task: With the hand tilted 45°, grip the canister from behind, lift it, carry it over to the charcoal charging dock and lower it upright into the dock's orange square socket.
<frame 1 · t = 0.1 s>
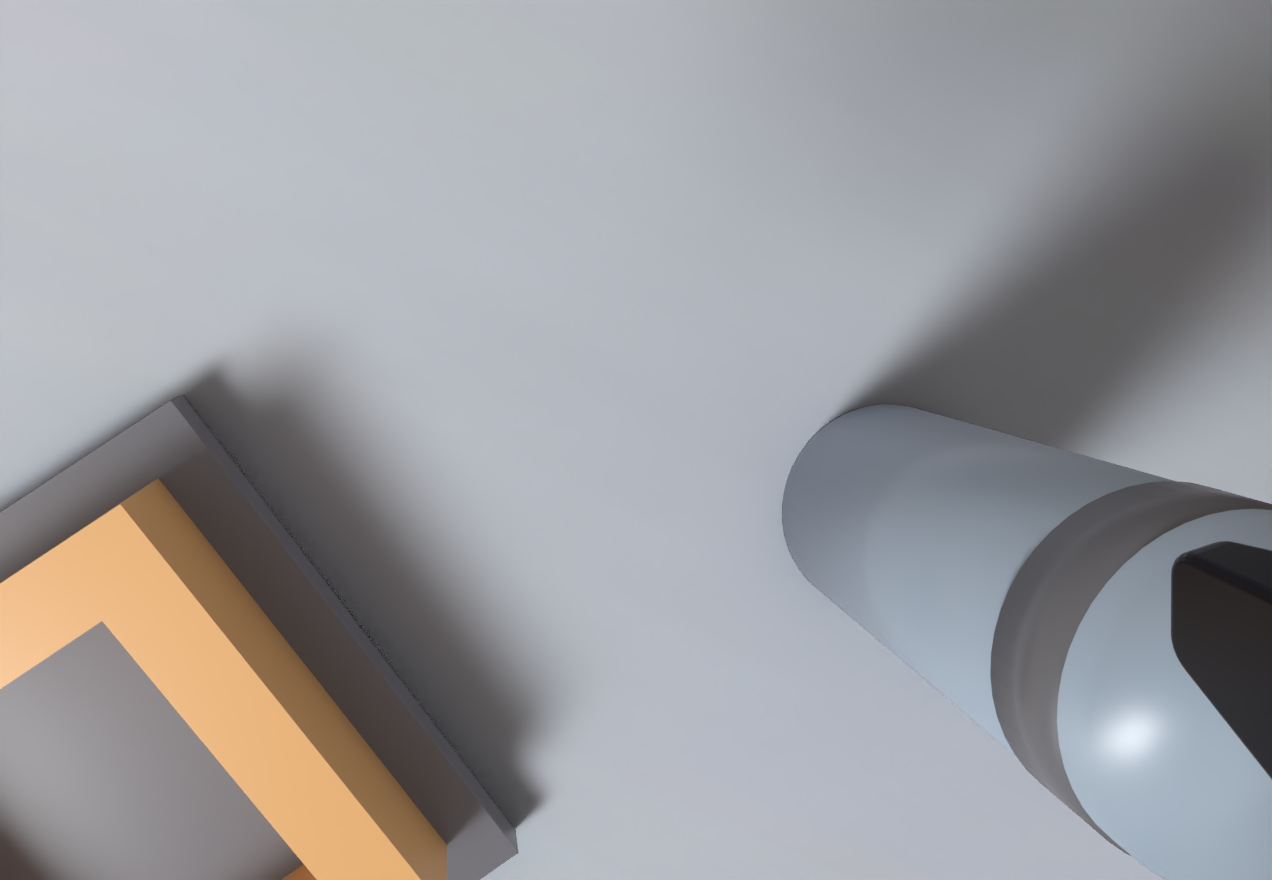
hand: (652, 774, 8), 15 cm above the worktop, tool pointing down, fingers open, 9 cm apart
dock: (120, 786, 23), on the worktop
canister: (882, 507, 25), on the worktop
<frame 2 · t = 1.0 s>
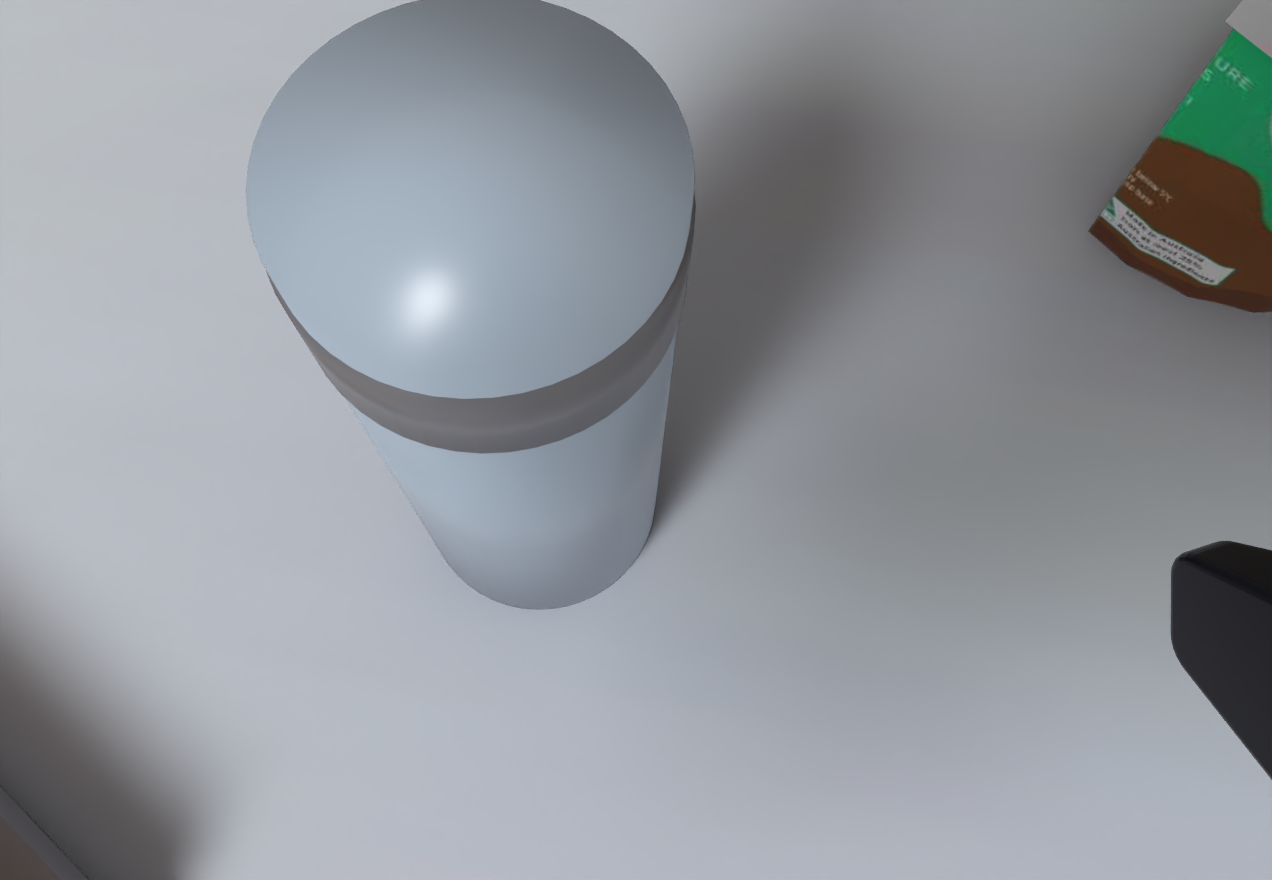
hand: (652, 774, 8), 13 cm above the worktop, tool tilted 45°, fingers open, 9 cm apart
canister: (542, 497, 23), on the worktop
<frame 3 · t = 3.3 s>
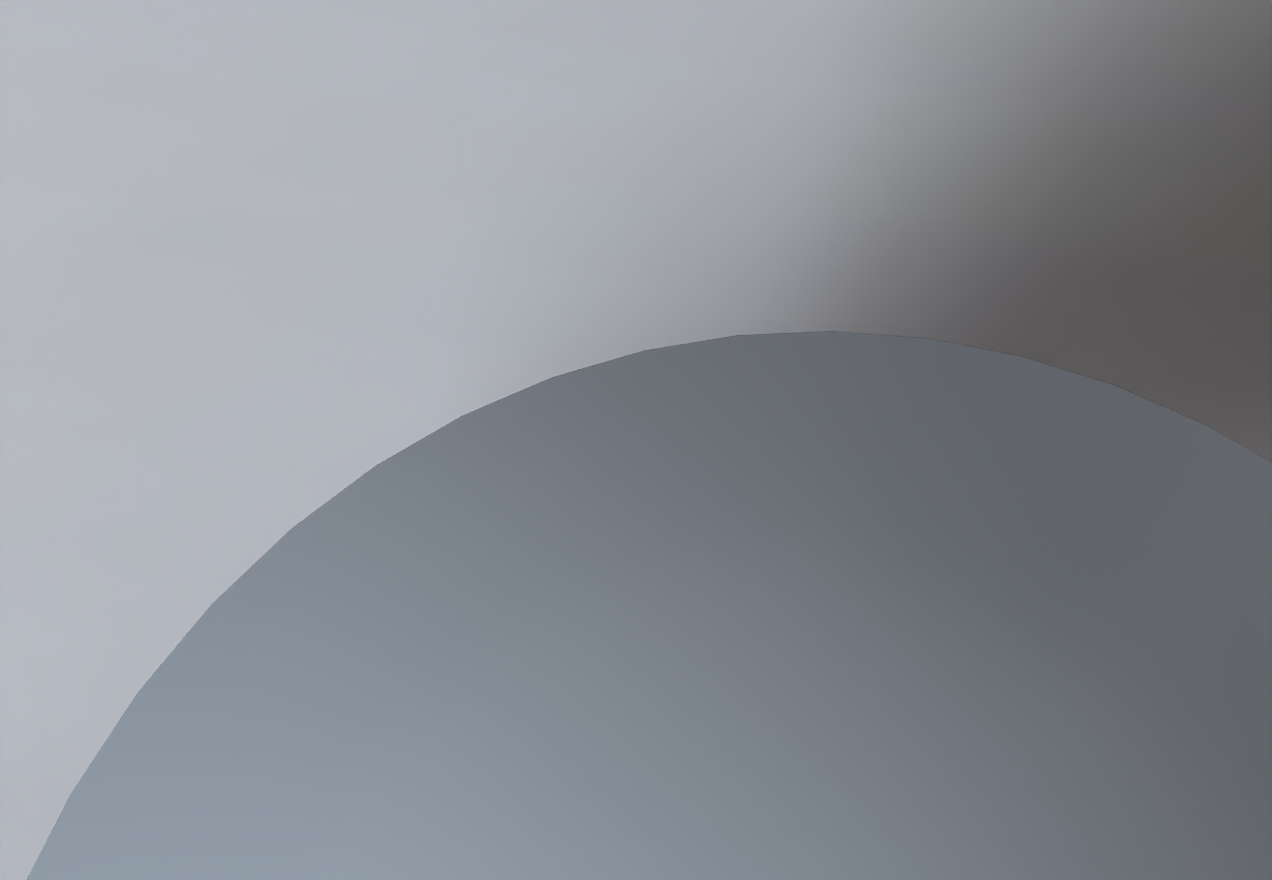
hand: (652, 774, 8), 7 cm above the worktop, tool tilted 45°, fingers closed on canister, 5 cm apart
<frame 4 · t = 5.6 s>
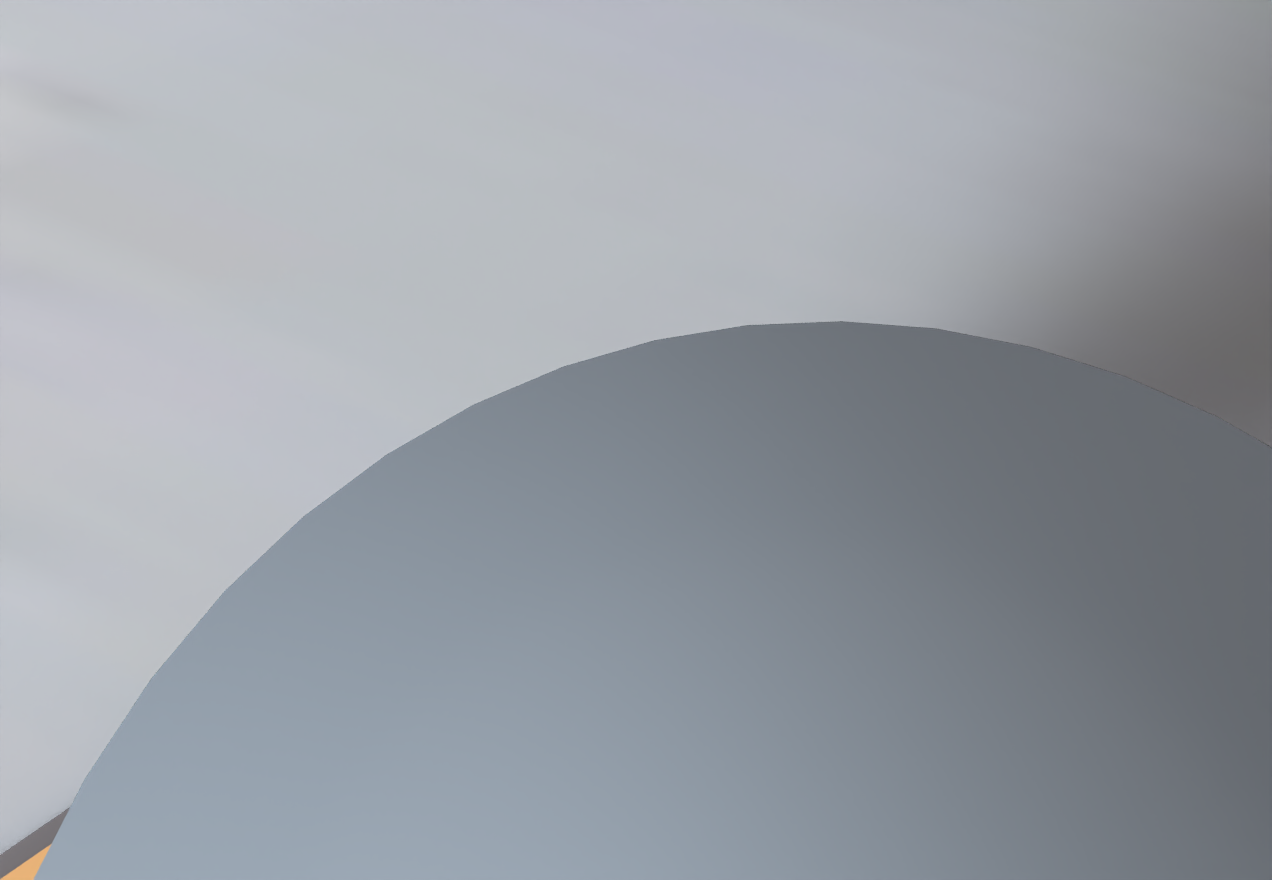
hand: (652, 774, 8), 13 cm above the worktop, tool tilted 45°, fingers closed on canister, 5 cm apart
when the fingers open (9 cm above the worktop, at t = 7.8 s): canister drops 1 cm, resting on dock.
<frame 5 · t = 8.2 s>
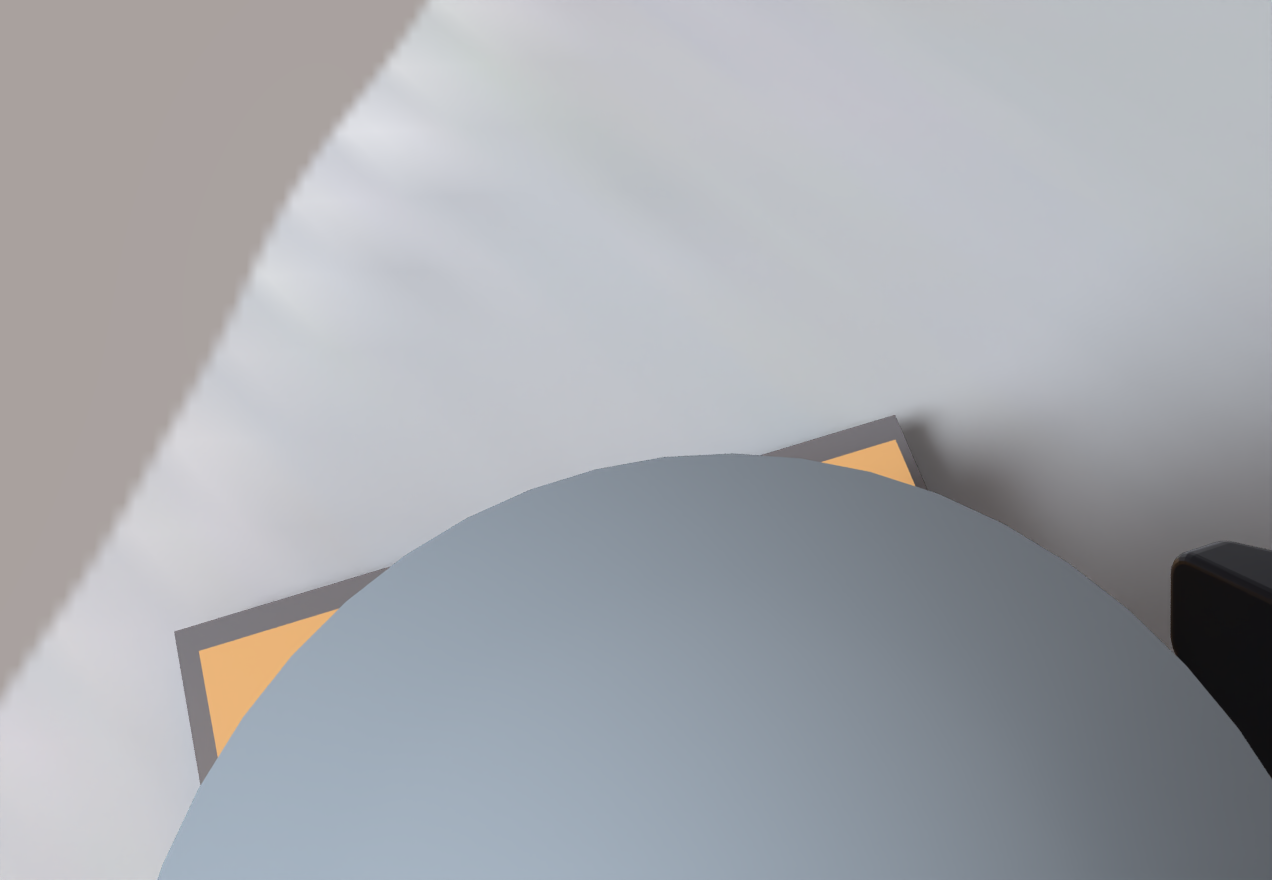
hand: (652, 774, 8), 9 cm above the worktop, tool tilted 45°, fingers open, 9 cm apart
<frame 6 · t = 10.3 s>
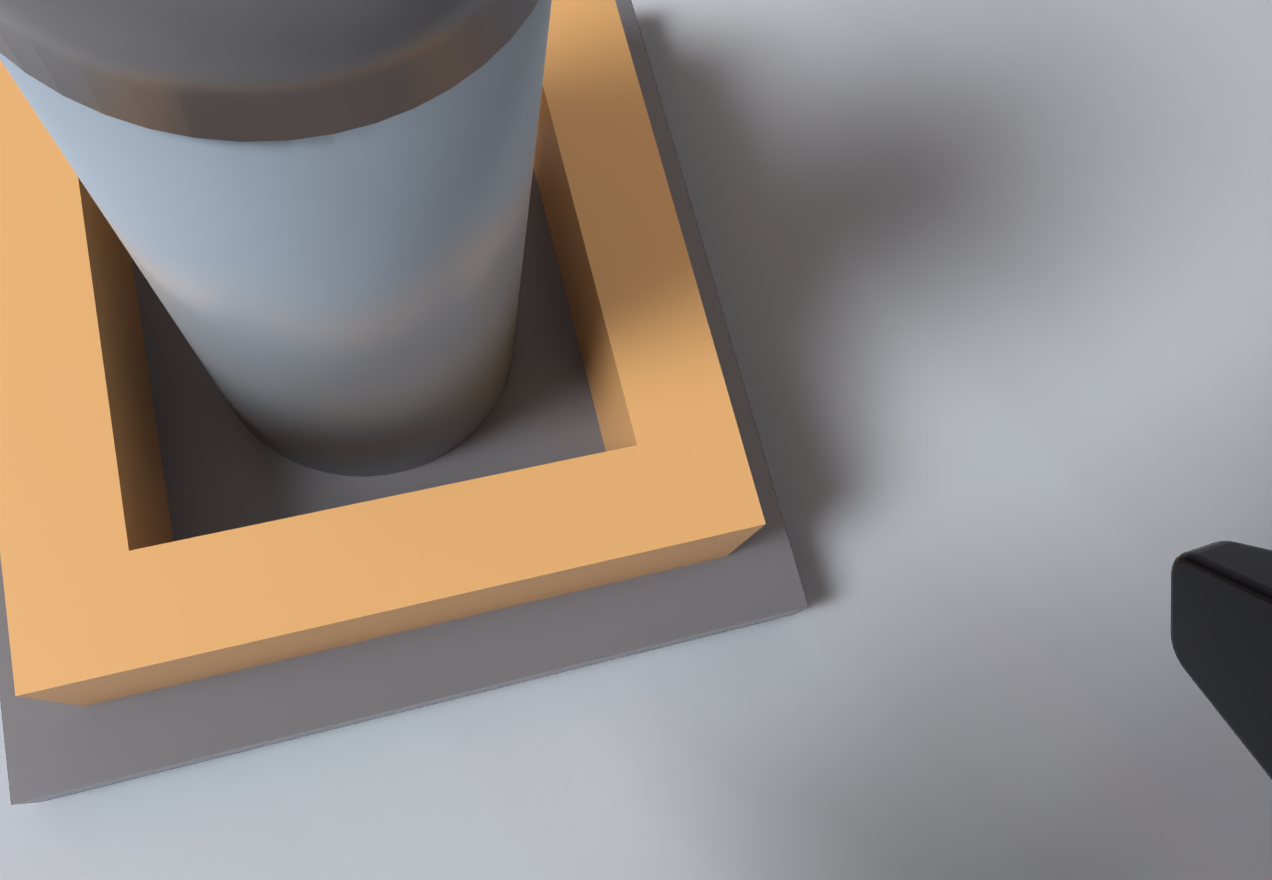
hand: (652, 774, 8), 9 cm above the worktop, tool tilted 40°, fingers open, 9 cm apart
dock: (371, 356, 19), on the worktop
canister: (366, 335, 18), point 1 cm above the worktop, touching dock
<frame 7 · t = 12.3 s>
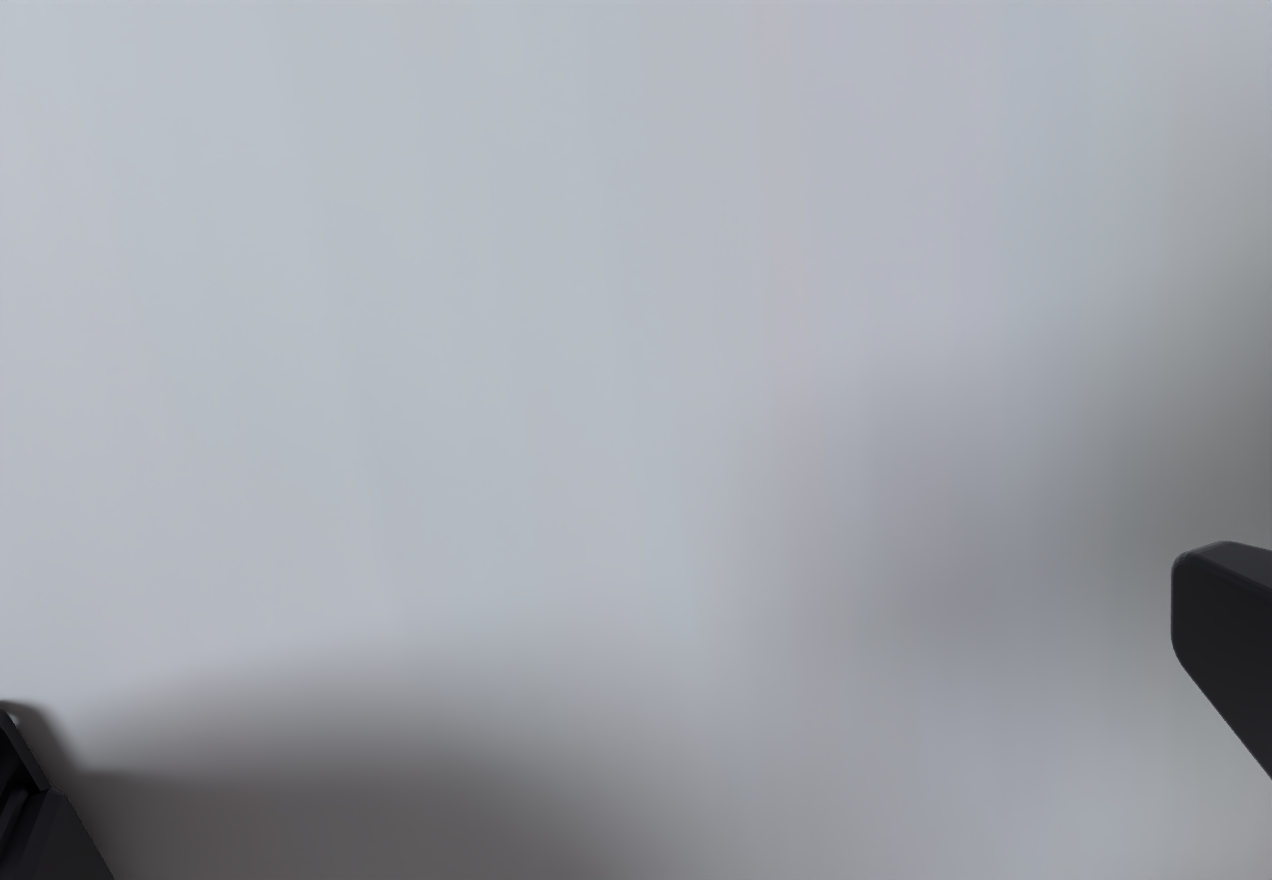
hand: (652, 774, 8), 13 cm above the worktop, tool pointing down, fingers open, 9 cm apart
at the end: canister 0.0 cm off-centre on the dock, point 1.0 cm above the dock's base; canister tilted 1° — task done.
